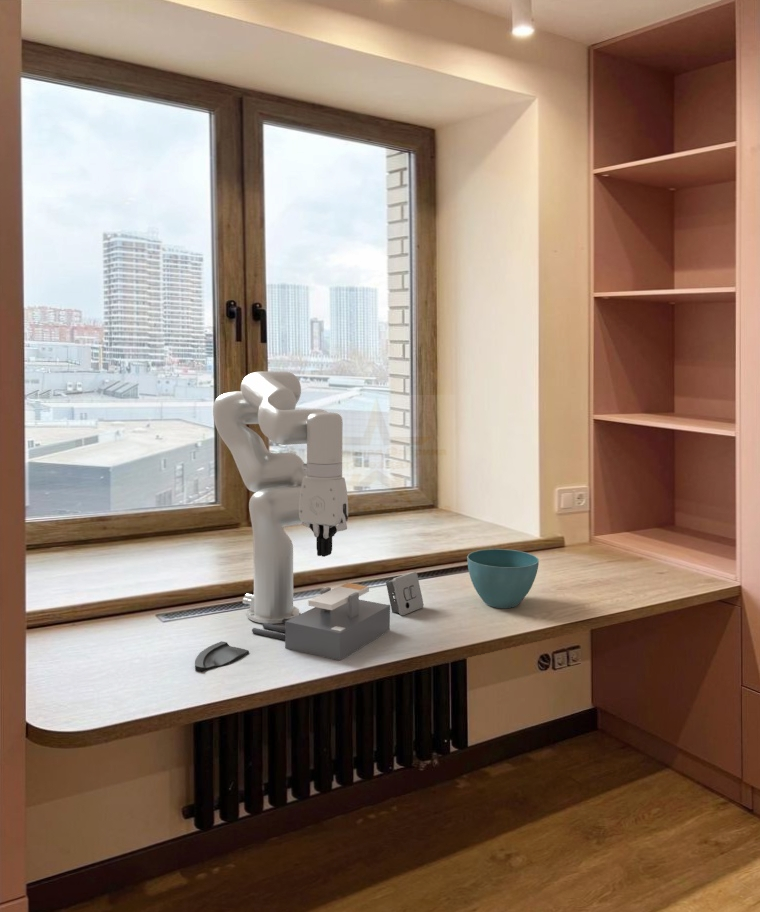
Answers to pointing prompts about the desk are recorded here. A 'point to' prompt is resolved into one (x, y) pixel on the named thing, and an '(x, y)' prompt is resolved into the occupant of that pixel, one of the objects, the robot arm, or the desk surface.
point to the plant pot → (502, 575)
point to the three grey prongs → (272, 627)
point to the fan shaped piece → (218, 656)
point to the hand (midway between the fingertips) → (324, 554)
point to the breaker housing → (337, 628)
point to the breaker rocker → (337, 596)
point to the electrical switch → (405, 593)
